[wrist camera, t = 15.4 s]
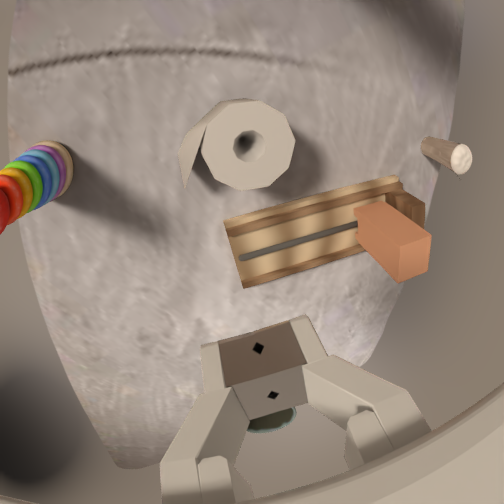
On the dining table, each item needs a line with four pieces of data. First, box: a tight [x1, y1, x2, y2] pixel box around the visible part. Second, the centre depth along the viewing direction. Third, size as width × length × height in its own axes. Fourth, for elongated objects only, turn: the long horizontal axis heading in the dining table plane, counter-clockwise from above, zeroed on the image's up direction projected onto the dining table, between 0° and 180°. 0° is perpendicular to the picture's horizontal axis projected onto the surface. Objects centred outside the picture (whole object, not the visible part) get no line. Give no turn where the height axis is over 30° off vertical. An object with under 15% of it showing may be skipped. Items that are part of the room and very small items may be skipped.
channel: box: [223, 175, 425, 289], centre depth 43 cm, size 27×11×8 cm, turn 103°
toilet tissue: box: [178, 98, 295, 191], centre depth 34 cm, size 9×13×9 cm
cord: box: [239, 220, 358, 261], centre depth 45 cm, size 24×1×1 cm, turn 103°
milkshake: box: [421, 136, 472, 174], centre depth 38 cm, size 5×5×10 cm
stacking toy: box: [0, 140, 73, 234], centre depth 26 cm, size 8×8×19 cm
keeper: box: [353, 201, 431, 283], centre depth 40 cm, size 5×6×12 cm
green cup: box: [247, 407, 296, 433], centre depth 54 cm, size 10×10×12 cm
